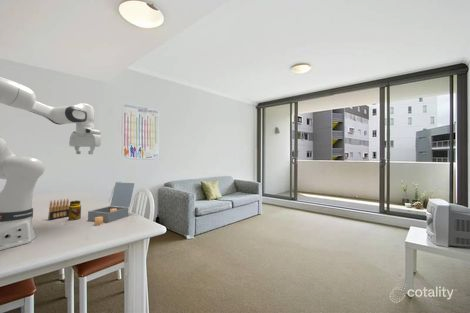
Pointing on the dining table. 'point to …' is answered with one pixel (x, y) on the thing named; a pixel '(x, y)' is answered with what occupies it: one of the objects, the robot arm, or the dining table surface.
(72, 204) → the condiment
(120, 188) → the lid
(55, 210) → the ammunition clip
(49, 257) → the dining table surface
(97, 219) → the brown wide rounded part
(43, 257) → the dining table surface
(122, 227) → the dining table surface
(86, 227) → the dining table surface
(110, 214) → the housing
